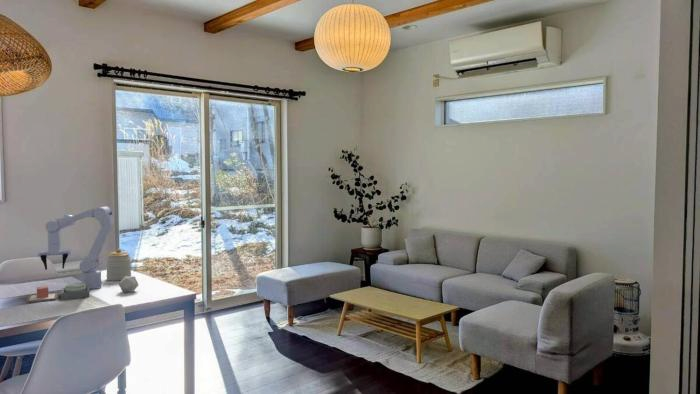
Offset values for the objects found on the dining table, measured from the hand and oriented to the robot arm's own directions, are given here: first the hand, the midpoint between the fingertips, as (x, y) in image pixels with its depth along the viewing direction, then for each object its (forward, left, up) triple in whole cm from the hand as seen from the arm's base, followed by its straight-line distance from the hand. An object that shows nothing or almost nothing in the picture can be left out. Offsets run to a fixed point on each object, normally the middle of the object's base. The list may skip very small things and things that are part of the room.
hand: (54, 268), depth 254 cm
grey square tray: (-10, +21, -10) cm, 25 cm away
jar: (-31, -11, -11) cm, 35 cm away
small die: (+4, +21, -10) cm, 23 cm away
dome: (-10, +21, -8) cm, 25 cm away
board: (+4, +21, -10) cm, 24 cm away
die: (-34, +24, -11) cm, 43 cm away
